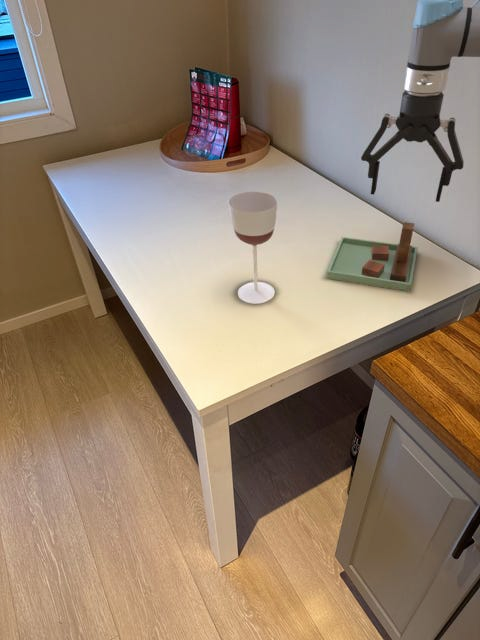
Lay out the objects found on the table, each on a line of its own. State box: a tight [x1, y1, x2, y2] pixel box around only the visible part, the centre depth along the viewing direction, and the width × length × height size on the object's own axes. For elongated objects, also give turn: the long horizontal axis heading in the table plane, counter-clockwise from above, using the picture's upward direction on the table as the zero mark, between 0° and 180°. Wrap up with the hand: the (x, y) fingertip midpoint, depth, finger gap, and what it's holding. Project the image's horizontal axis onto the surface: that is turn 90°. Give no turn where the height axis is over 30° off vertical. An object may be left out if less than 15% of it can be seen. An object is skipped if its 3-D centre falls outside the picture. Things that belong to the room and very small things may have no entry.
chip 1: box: [371, 245, 389, 261], centre depth 122 cm, size 4×4×2 cm
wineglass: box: [228, 191, 278, 305], centre depth 106 cm, size 9×10×23 cm
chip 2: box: [362, 260, 385, 278], centre depth 116 cm, size 4×4×2 cm
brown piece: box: [390, 221, 415, 282], centre depth 114 cm, size 4×14×12 cm, turn 160°
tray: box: [326, 236, 419, 293], centre depth 119 cm, size 19×17×2 cm
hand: (404, 195), depth 106 cm, fingers open, 13 cm apart
